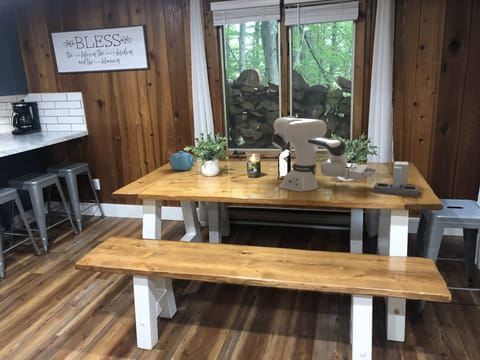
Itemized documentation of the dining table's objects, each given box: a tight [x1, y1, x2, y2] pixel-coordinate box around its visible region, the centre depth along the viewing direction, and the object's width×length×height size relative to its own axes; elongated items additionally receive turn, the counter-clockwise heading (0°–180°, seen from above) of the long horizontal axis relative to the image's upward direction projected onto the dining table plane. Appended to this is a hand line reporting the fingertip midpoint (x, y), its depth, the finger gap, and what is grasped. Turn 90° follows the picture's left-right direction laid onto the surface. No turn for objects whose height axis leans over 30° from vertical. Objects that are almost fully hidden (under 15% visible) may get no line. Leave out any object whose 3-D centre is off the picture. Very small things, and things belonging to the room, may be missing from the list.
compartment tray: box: [372, 182, 420, 198], centre depth 210 cm, size 22×10×3 cm, turn 61°
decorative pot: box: [168, 150, 196, 172], centre depth 280 cm, size 16×16×14 cm
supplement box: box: [393, 161, 409, 185], centre depth 222 cm, size 7×7×13 cm
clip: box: [391, 167, 402, 188], centre depth 209 cm, size 4×4×13 cm
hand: (374, 172), depth 213 cm, fingers open, 8 cm apart
